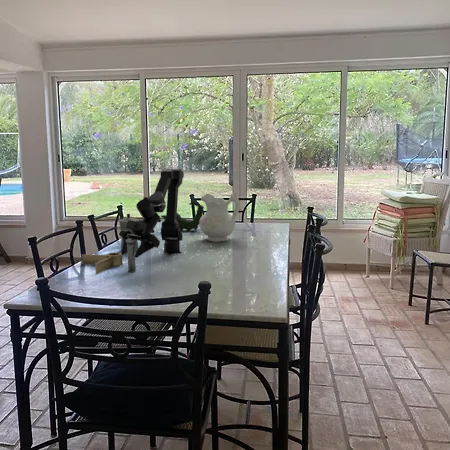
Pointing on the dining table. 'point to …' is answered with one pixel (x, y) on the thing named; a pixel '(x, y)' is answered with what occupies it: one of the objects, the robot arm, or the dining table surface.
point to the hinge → (103, 260)
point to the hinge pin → (131, 254)
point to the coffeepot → (123, 227)
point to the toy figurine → (188, 223)
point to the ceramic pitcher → (218, 217)
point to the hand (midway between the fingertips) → (128, 255)
